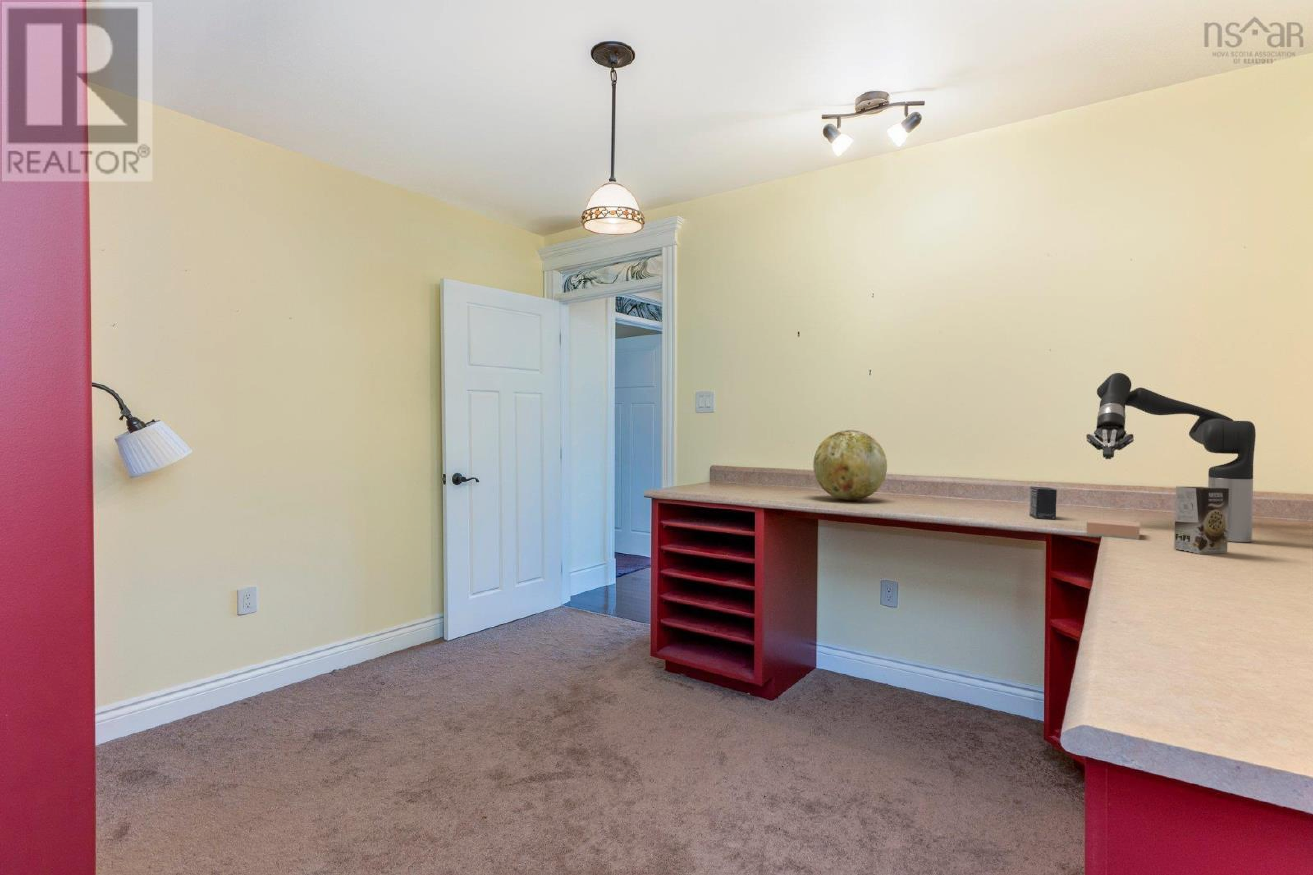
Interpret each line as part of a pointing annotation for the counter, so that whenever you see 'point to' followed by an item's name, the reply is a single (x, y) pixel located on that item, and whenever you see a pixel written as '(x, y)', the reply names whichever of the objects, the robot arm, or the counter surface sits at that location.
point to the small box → (1043, 503)
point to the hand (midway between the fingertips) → (1107, 457)
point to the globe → (850, 465)
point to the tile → (1113, 528)
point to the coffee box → (1201, 519)
